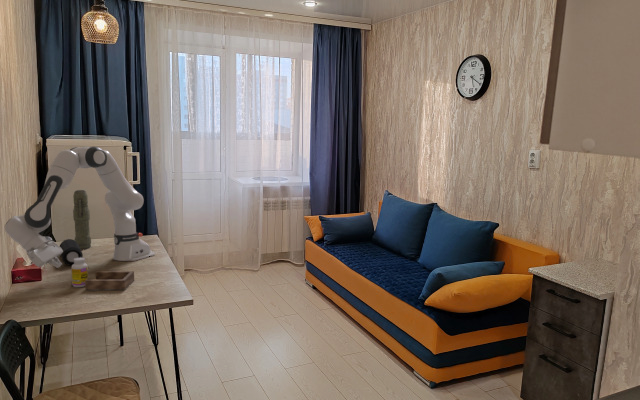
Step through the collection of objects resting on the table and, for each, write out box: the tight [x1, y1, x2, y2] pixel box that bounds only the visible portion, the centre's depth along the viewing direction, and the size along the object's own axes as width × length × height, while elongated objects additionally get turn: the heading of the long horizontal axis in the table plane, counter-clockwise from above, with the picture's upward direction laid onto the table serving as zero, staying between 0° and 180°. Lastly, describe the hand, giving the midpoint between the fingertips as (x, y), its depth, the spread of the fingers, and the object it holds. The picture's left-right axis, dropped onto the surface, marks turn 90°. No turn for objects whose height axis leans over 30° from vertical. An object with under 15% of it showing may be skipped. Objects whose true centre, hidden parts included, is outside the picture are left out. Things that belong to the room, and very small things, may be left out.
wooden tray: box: [84, 270, 135, 291], centre depth 225 cm, size 18×14×5 cm
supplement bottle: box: [71, 257, 89, 288], centre depth 223 cm, size 7×7×13 cm
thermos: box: [72, 189, 92, 250], centre depth 288 cm, size 9×12×35 cm
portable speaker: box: [59, 238, 84, 266], centre depth 262 cm, size 26×10×10 cm, turn 32°
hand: (60, 266), depth 222 cm, fingers closed
